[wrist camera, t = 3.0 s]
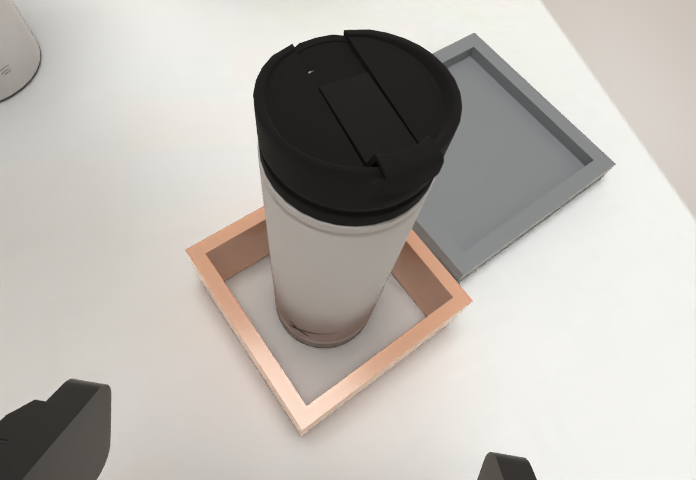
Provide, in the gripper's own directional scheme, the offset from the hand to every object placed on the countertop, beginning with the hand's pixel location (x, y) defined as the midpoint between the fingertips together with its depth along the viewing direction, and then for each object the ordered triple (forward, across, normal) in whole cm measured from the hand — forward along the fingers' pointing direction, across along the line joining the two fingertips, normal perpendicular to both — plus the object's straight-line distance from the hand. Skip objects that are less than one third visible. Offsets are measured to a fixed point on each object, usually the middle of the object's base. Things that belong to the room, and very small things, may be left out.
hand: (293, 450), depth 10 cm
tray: (+30, -8, -3) cm, 32 cm away
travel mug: (+20, 0, +7) cm, 22 cm away
